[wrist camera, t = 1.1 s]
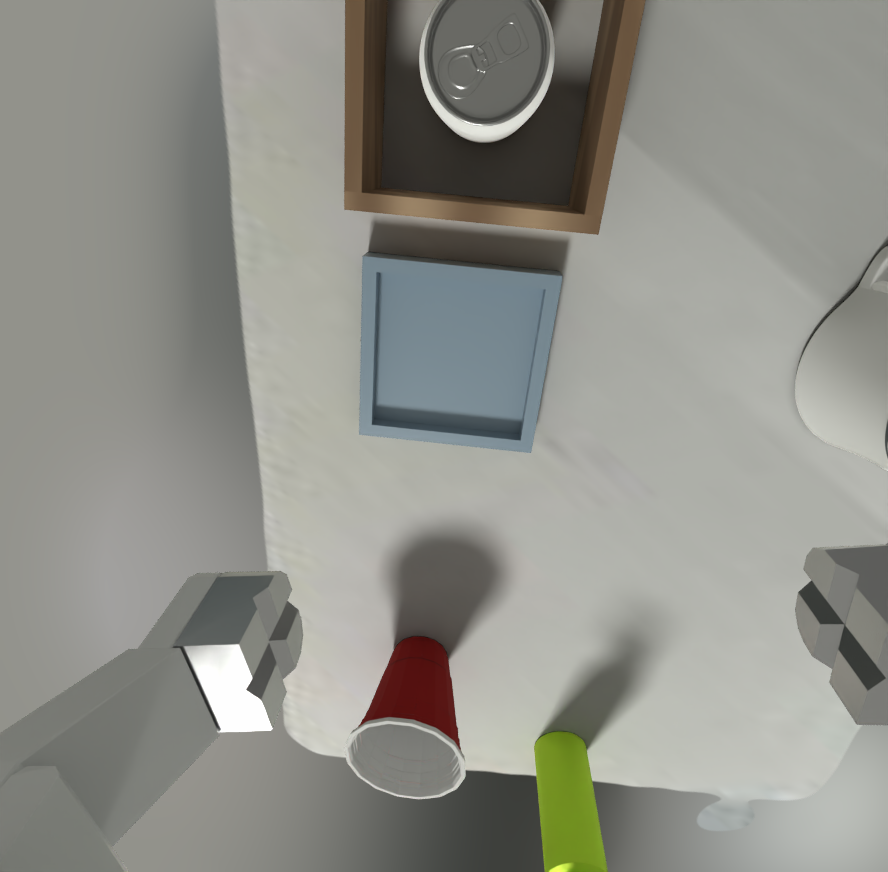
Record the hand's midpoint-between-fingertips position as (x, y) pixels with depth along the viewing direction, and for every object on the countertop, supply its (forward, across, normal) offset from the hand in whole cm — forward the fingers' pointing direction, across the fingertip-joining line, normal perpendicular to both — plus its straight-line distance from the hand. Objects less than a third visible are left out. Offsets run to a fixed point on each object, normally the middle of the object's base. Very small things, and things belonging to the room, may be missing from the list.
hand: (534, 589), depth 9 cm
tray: (+35, +4, +7) cm, 36 cm away
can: (+35, 0, -10) cm, 37 cm away
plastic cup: (+34, +11, +40) cm, 54 cm away
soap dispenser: (+34, -3, +55) cm, 65 cm away
